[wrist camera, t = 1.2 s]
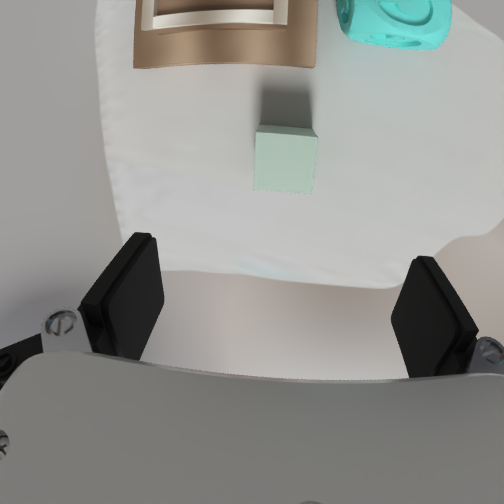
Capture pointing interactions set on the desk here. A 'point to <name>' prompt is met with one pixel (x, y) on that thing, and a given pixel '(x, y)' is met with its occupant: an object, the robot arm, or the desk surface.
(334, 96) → the desk surface
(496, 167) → the desk surface
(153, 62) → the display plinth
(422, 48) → the decorative dice
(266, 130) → the sage block
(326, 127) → the desk surface
